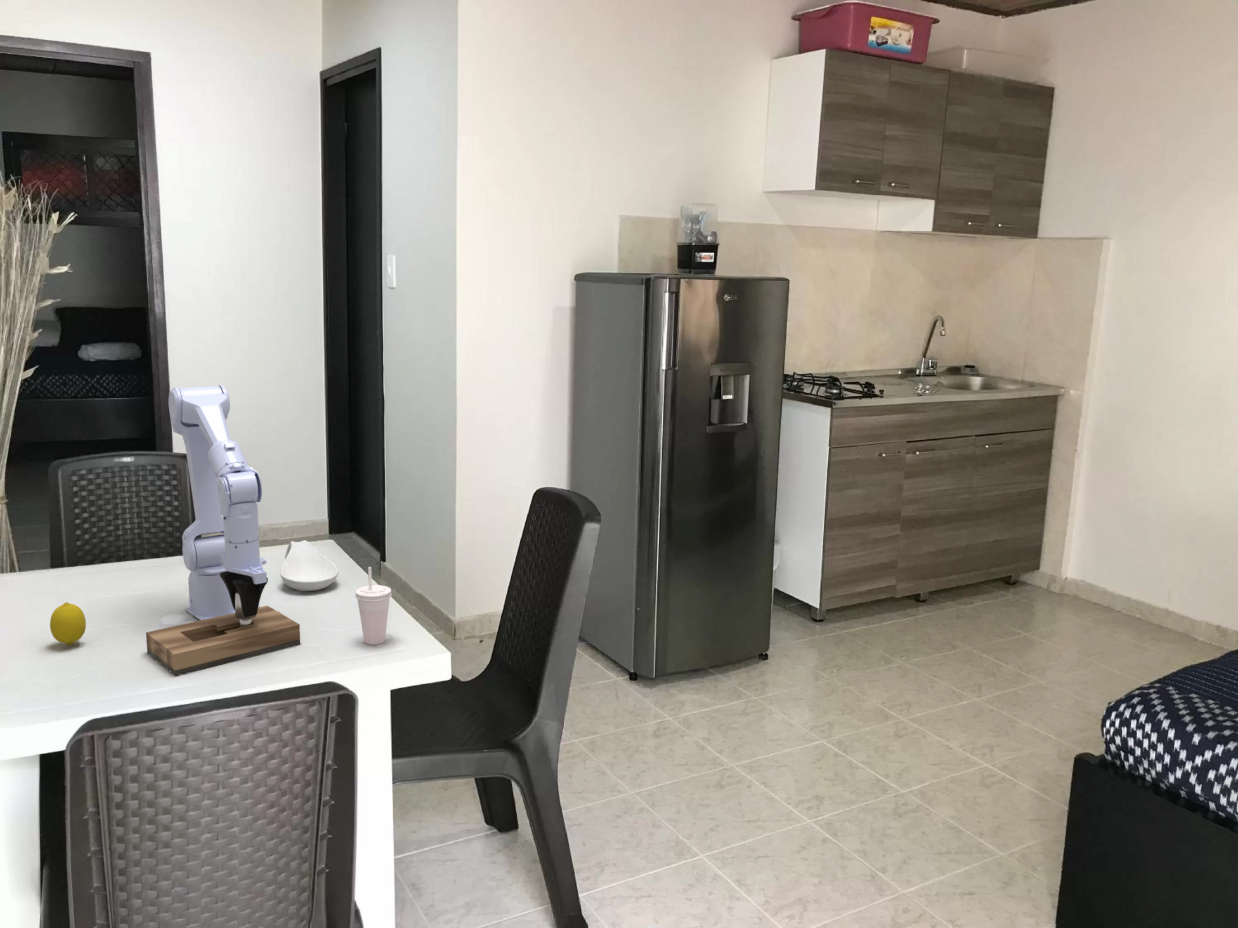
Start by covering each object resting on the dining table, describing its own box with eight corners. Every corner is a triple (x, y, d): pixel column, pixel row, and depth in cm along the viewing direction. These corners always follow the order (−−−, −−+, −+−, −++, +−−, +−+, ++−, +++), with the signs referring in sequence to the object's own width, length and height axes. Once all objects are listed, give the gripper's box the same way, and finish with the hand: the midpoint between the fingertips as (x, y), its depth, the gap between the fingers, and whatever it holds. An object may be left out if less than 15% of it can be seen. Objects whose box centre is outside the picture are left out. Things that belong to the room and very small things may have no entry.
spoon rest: (344, 592, 212) (343, 559, 211) (286, 600, 207) (285, 566, 206) (320, 562, 233) (319, 531, 231) (266, 568, 227) (265, 537, 226)
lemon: (72, 652, 177) (68, 609, 175) (44, 649, 178) (40, 606, 176) (94, 641, 182) (91, 598, 180) (67, 638, 183) (63, 596, 182)
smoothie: (359, 634, 189) (357, 562, 186) (394, 634, 189) (393, 562, 186) (353, 647, 182) (351, 572, 180) (390, 647, 183) (388, 572, 180)
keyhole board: (147, 652, 178) (145, 632, 177) (268, 624, 192) (267, 605, 192) (175, 675, 168) (174, 654, 168) (300, 644, 183) (299, 624, 182)
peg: (226, 635, 183) (227, 590, 182) (253, 631, 186) (254, 587, 185) (237, 643, 179) (237, 597, 178) (263, 639, 183) (264, 594, 181)
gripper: (282, 544, 177) (285, 618, 180) (246, 527, 187) (249, 597, 190) (242, 551, 172) (246, 627, 175) (207, 533, 182) (212, 605, 185)
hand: (245, 612), depth 182 cm, fingers closed on peg, 3 cm apart
